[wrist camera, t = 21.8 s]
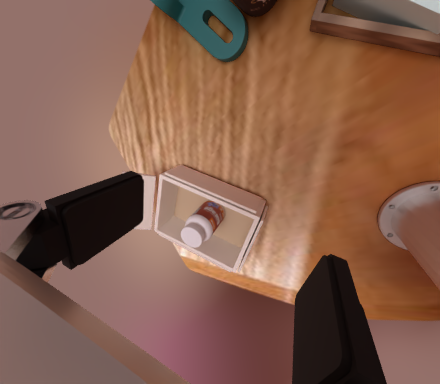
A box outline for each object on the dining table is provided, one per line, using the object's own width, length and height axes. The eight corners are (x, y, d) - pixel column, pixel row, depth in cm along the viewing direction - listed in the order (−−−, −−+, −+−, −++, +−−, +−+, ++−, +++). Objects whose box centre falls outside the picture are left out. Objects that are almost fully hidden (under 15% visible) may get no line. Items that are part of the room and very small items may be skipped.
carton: (271, 198, 39) (265, 216, 32) (245, 254, 47) (237, 276, 41) (180, 161, 43) (160, 170, 37) (171, 218, 52) (154, 233, 45)
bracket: (157, 0, 32) (120, -28, 26) (174, -50, 29) (137, -98, 22) (230, 71, 33) (213, 61, 26) (257, 30, 29) (244, 6, 22)
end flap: (155, 177, 37) (121, 172, 36) (151, 229, 44) (122, 228, 42) (156, 175, 38) (122, 171, 36) (151, 228, 45) (123, 226, 43)
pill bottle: (230, 213, 43) (211, 243, 34) (214, 225, 46) (192, 255, 37) (213, 194, 43) (189, 218, 34) (197, 207, 46) (171, 233, 37)
